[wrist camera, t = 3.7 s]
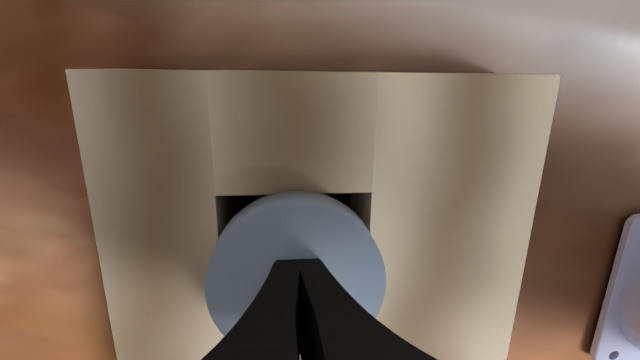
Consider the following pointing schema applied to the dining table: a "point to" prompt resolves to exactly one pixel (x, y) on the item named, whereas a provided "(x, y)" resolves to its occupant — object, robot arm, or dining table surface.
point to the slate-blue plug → (291, 251)
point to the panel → (315, 189)
